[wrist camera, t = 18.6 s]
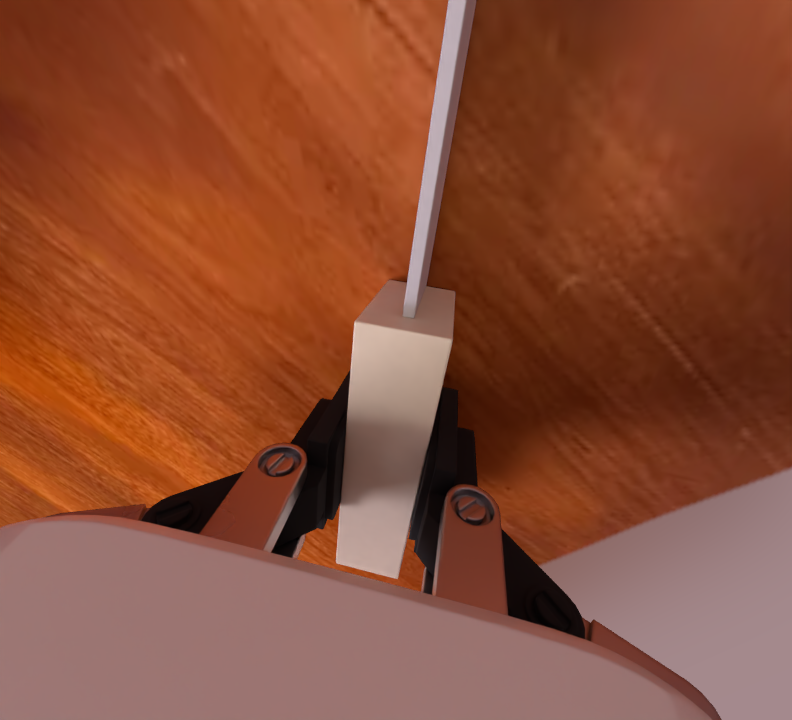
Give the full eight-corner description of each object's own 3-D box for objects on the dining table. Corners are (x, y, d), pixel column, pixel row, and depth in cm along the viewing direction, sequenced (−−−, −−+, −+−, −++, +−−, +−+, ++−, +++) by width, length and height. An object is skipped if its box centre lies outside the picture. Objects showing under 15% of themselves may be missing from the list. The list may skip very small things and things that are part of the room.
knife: (412, 487, 15) (397, 579, 11) (364, 476, 15) (335, 563, 12) (574, -250, 6) (734, -875, 2) (453, -254, 6) (442, -837, 3)
